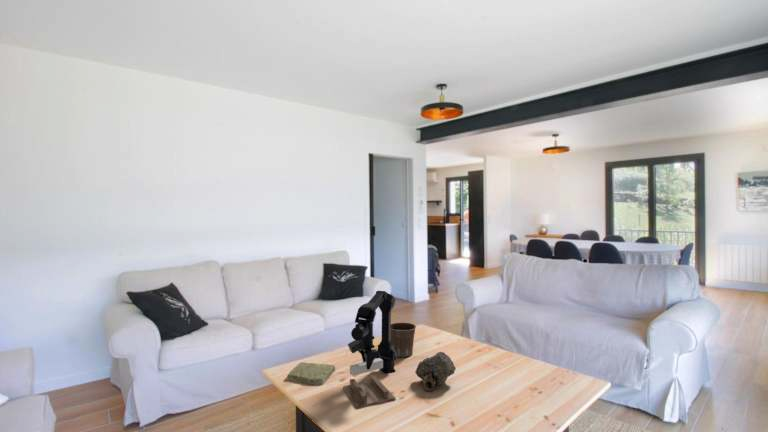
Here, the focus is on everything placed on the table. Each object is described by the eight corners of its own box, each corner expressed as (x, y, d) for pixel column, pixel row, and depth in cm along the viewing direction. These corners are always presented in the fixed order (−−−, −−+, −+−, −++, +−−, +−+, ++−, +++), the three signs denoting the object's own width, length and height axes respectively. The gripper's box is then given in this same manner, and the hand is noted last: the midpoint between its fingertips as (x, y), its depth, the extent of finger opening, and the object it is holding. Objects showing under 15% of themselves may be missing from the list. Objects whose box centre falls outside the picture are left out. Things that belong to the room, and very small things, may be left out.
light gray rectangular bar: (379, 365, 183) (379, 357, 183) (383, 367, 181) (383, 360, 181) (349, 373, 174) (349, 365, 174) (353, 376, 172) (353, 368, 172)
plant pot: (390, 348, 235) (389, 321, 234) (416, 349, 232) (416, 322, 232) (386, 358, 218) (386, 330, 218) (415, 359, 216) (415, 331, 216)
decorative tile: (300, 367, 208) (300, 360, 208) (335, 370, 204) (335, 363, 204) (284, 382, 190) (284, 375, 190) (323, 386, 186) (322, 379, 185)
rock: (440, 343, 193) (436, 348, 179) (460, 368, 189) (457, 375, 174) (413, 366, 195) (406, 373, 181) (432, 391, 191) (427, 400, 176)
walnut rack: (378, 381, 189) (378, 373, 189) (395, 399, 171) (395, 391, 171) (343, 388, 183) (343, 379, 182) (356, 408, 164) (356, 399, 164)
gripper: (344, 330, 183) (344, 362, 183) (356, 342, 166) (356, 378, 166) (366, 327, 187) (366, 359, 187) (380, 339, 170) (380, 374, 170)
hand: (366, 367), depth 178 cm, fingers closed on light gray rectangular bar, 4 cm apart
